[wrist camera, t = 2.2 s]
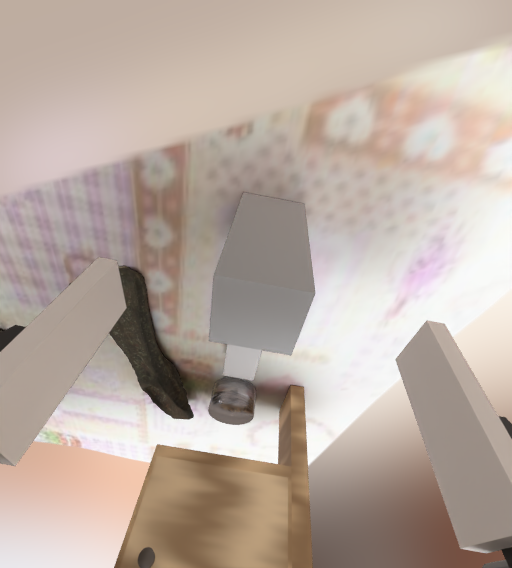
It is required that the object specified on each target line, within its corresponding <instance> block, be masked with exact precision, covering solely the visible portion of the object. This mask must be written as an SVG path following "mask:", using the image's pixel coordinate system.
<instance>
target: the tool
mask: <svg viewBox="0 0 512 568" xmlns="http://www.w3.org/2000/svg"><path fill="white" fill-rule="evenodd" d="M118 268H119V273H120V278H121V283H122V288H123V293H124V298H125V303H126V309H125V311H124V312H123V314H122V315H121V316H120V318H119V319H118V321H117V322H116V324H115V325H114V326H113V328H112V329H111V331H110V332H109V333H110V335H111V336H112V337H113V339H114V340H115V341H116V343H117V344H118V346H119V347H120V348H121V349H122V350H123V351H124V353H125V354H126V356H127V357H128V359H129V361H130V363H131V364H132V367H133V369H134V370H135V373H136V375H137V377H138V382H139V384H140V386H141V388H142V390H143V391H145V392H146V393H147V394H148V395H149V396H150V397H151V399H152V401H153V403H155V404H156V405H157V406H158V407H159V408H160V409H161V410H162V411H164V412H165V413H166V414H168V415H170V416H171V417H172V418H174V419H191V418H193V417H194V415H193V412H192V410H191V407H190V405H189V404H188V399H187V393H186V390H185V389H184V388H183V383H182V382H181V378H180V377H179V376H180V375H179V374H178V371H177V369H176V368H175V366H173V365H172V363H171V362H170V361H167V360H166V358H165V357H164V356H163V355H162V353H161V351H160V350H159V348H158V346H157V343H156V340H155V334H154V330H153V326H152V321H151V317H150V313H149V308H148V301H147V294H146V291H147V289H146V285H145V283H144V277H143V276H142V275H141V274H140V273H137V272H136V271H134V270H131V269H130V268H129V267H127V266H122V267H118ZM70 284H71V283H70ZM70 284H69V285H70Z"/></svg>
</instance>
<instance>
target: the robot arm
mask: <svg viewBox="0 0 512 568" xmlns="http://www.w3.org/2000/svg"><path fill="white" fill-rule="evenodd" d="M125 309H126V303H125V298H124V293H123V288H122V283H121V278H120V273H119V268H118V263H117V260H111V259H106V258H101V257H98V258H97V259H96V260H95V261H94V262H93V263H92V264H91V265H90V266H89V267H88V268H87V269H86V270H85V271H84V272H83V273H82V274H81V275H80V276H79V277H77V278H76V279H75V280H74V281H73V282H72V283H71V284H70V285H69V286H68V287H67V288H66V289H65V290H64V291H63V292H62V293H61V294H60V295H59V296H58V297H57V298H56V299H55V300H54V301H53V302H52V303H51V304H50V305H48V306H47V307H46V308H45V309H44V310H43V311H42V312H41V313H40V314H39V315H38V316H37V317H36V318H35V319H34V320H33V321H32V322H31V323H30V324H29V325H28V326H27V327H23V326H18V325H14V326H12V327H11V328H9V329H7V330H5V331H1V330H0V463H1V464H6V465H11V466H16V465H17V463H18V462H19V461H20V459H21V458H22V456H23V455H24V453H25V452H26V451H27V449H28V448H29V446H30V445H31V443H32V442H33V441H34V439H35V438H36V436H37V435H38V434H39V432H40V431H41V429H42V428H43V426H44V425H45V424H46V422H47V421H48V419H49V418H50V416H51V415H52V414H53V412H54V411H55V409H56V408H57V406H58V405H59V404H60V402H61V401H62V399H63V398H64V396H65V395H66V394H67V392H68V391H69V389H70V388H71V386H72V385H73V384H74V382H75V381H76V379H77V378H78V376H79V375H80V374H81V372H82V371H83V369H84V368H85V366H86V365H87V364H88V362H89V361H90V359H91V358H92V356H93V355H94V354H95V352H96V351H97V349H98V348H99V346H100V345H101V344H102V342H103V341H104V339H105V338H106V336H107V335H108V334H109V332H110V331H111V329H112V328H113V326H114V325H115V324H116V322H117V321H118V319H119V318H120V316H121V315H122V314H123V312H124V311H125ZM396 362H397V365H398V368H399V371H400V374H401V377H402V380H403V383H404V386H405V389H406V391H407V394H408V397H409V400H410V403H411V406H412V409H413V412H414V415H415V418H416V421H417V423H418V426H419V429H420V432H421V435H422V438H423V441H424V444H425V447H426V450H427V452H428V455H429V458H430V461H431V464H432V467H433V470H434V473H435V476H436V479H437V482H438V485H439V487H440V490H441V493H442V496H443V499H444V502H445V505H446V508H447V511H448V514H449V516H450V519H451V522H452V525H453V528H454V531H455V534H456V537H457V540H458V543H459V546H460V548H461V549H466V550H472V551H477V552H482V553H489V552H494V551H499V550H502V552H503V555H504V557H505V559H506V560H503V561H497V562H491V563H487V564H484V565H483V568H512V424H511V423H510V422H509V421H508V420H507V419H506V418H505V417H500V416H498V415H497V413H496V411H495V410H494V408H493V406H492V404H491V403H490V401H489V400H488V398H487V396H486V394H485V392H484V391H483V389H482V387H481V385H480V384H479V382H478V380H477V379H476V377H475V375H474V373H473V372H472V370H471V368H470V367H469V365H468V363H467V361H466V360H465V358H464V357H463V355H462V353H461V351H460V350H459V348H458V346H457V344H456V343H455V341H454V339H453V337H452V336H451V334H450V332H449V331H448V329H447V327H446V325H445V324H442V323H437V322H432V321H426V322H425V323H424V325H423V326H422V327H421V328H420V330H419V331H418V332H417V333H416V335H415V336H414V337H413V338H412V340H411V341H410V342H409V343H408V344H407V346H406V347H405V348H404V349H403V351H402V352H401V353H400V354H399V356H398V357H397V358H396Z"/></svg>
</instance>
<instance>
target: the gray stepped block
mask: <svg viewBox="0 0 512 568" xmlns="http://www.w3.org/2000/svg"><path fill="white" fill-rule="evenodd" d="M314 296H315V286H314V278H313V270H312V262H311V254H310V245H309V237H308V229H307V221H306V213H305V205H304V204H303V203H298V202H293V201H287V200H282V199H277V198H271V197H266V196H261V195H256V194H250V193H245V192H243V195H242V198H241V200H240V203H239V206H238V209H237V211H236V214H235V217H234V220H233V223H232V225H231V228H230V231H229V234H228V237H227V239H226V242H225V245H224V248H223V250H222V253H221V256H220V259H219V262H218V264H217V267H216V270H215V273H214V278H213V292H212V305H211V318H210V332H209V341H211V342H217V343H223V344H227V350H226V357H225V364H224V371H223V376H229V377H235V378H241V379H247V380H252V381H254V377H255V374H256V370H257V367H258V363H259V359H260V356H261V352H262V350H263V351H269V352H274V353H280V354H286V355H292V352H293V349H294V347H295V344H296V342H297V339H298V337H299V334H300V331H301V329H302V326H303V324H304V321H305V319H306V316H307V313H308V311H309V308H310V306H311V303H312V301H313V298H314Z"/></svg>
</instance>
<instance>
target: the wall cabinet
mask: <svg viewBox="0 0 512 568" xmlns="http://www.w3.org/2000/svg"><path fill="white" fill-rule="evenodd" d="M114 568H313V563H312V542H311V523H310V501H309V481H308V461H307V440H306V420H305V400H304V387H300V386H294V385H290V388H289V390H288V392H287V395H286V397H285V399H284V402H283V404H282V406H281V408H280V412H279V451H278V464H273V463H267V462H261V461H255V460H249V459H243V458H237V457H231V456H225V455H219V454H213V453H207V452H200V451H194V450H188V449H182V448H176V447H170V446H164V445H158V444H157V446H156V449H155V452H154V455H153V458H152V461H151V463H150V466H149V469H148V472H147V475H146V478H145V481H144V483H143V486H142V490H141V492H140V495H139V498H138V501H137V504H136V506H135V509H134V512H133V515H132V518H131V521H130V524H129V526H128V529H127V532H126V535H125V538H124V541H123V544H122V546H121V550H120V552H119V555H118V558H117V561H116V564H115V567H114Z"/></svg>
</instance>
